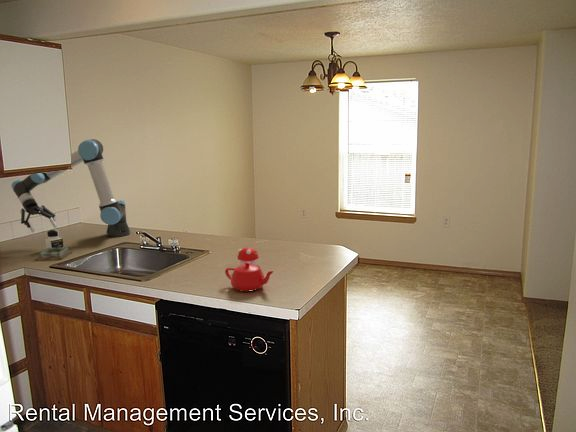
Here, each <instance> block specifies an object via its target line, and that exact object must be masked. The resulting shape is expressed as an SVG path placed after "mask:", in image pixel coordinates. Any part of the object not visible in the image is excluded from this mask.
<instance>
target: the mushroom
mask: <svg viewBox="0 0 576 432" xmlns="http://www.w3.org/2000/svg"><path fill="white" fill-rule="evenodd" d="M237 253H238V254H237V260H239V264H240V265H245V263H244V262H250V265H256V260H258V259H259V257H260V256H259V254H258V251H257V250H256V249H254V248H253V247H248V246H247V247H244V248H238V249H237ZM240 265H239V266H240Z"/></svg>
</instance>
